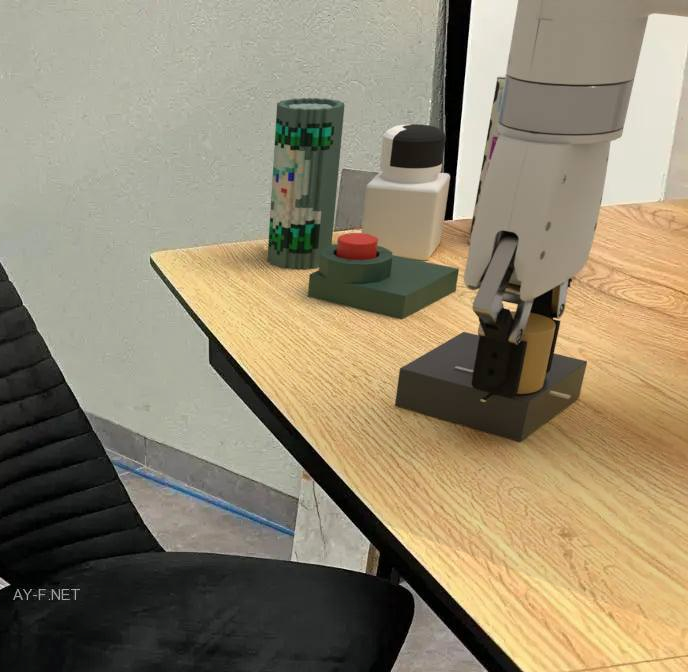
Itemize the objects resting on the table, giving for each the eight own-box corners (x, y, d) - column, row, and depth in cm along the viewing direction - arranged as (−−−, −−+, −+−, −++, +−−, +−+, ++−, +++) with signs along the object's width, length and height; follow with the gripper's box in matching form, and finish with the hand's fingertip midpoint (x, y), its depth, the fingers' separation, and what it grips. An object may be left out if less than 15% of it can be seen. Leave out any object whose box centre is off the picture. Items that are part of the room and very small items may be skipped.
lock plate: (602, 404, 86) (612, 364, 84) (533, 458, 78) (542, 415, 77) (457, 367, 92) (463, 329, 91) (382, 413, 85) (387, 373, 83)
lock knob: (495, 366, 84) (507, 302, 82) (553, 380, 82) (567, 315, 79) (467, 384, 82) (478, 319, 79) (526, 399, 79) (540, 333, 77)
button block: (455, 291, 108) (462, 249, 106) (400, 320, 102) (406, 276, 99) (361, 271, 114) (365, 230, 111) (303, 297, 107) (307, 254, 105)
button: (383, 256, 106) (385, 237, 105) (362, 265, 103) (364, 246, 102) (349, 249, 108) (351, 230, 107) (328, 258, 106) (330, 239, 105)
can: (256, 260, 117) (265, 103, 109) (297, 248, 120) (309, 95, 112) (299, 273, 113) (312, 112, 105) (341, 261, 116) (356, 103, 108)
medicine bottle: (441, 243, 121) (458, 122, 114) (428, 261, 116) (445, 136, 109) (374, 236, 124) (387, 118, 117) (358, 254, 118) (371, 132, 112)
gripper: (561, 83, 79) (513, 336, 89) (443, 122, 69) (403, 404, 79) (673, 94, 75) (609, 359, 85) (564, 138, 64) (506, 433, 74)
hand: (510, 378), depth 82 cm, fingers closed on lock knob, 4 cm apart
